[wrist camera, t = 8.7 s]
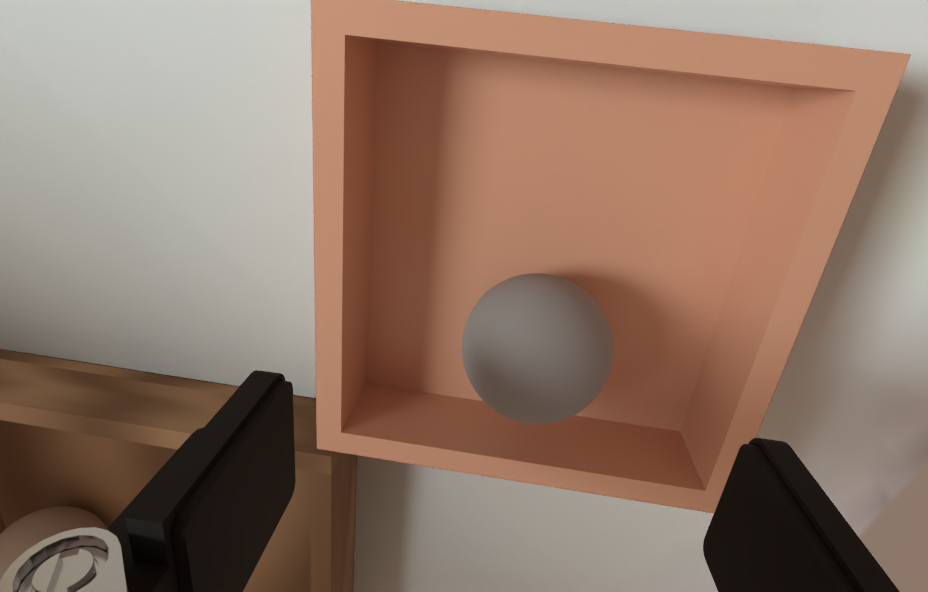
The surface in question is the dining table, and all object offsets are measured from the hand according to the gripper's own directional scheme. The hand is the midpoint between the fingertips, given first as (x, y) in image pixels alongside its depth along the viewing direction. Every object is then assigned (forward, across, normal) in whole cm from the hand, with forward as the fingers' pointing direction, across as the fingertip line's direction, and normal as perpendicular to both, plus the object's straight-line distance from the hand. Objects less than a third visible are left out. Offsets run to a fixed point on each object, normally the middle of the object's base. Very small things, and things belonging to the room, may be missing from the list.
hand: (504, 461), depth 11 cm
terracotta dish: (+8, -1, -2) cm, 8 cm away
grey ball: (+7, -1, 0) cm, 7 cm away
